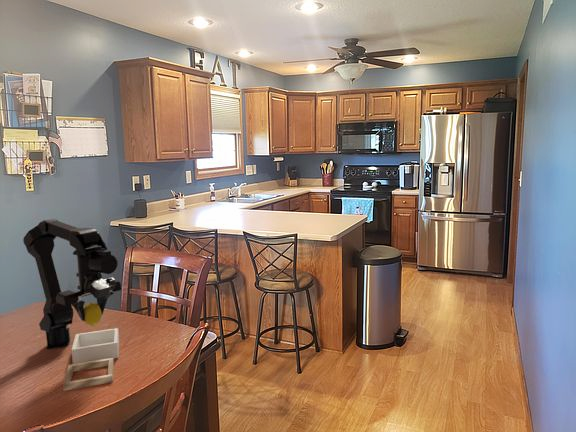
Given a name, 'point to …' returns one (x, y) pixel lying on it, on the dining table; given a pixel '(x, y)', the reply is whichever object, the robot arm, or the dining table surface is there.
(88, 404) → the dining table surface
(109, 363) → the rectangular frame
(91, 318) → the lemon
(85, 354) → the bin
